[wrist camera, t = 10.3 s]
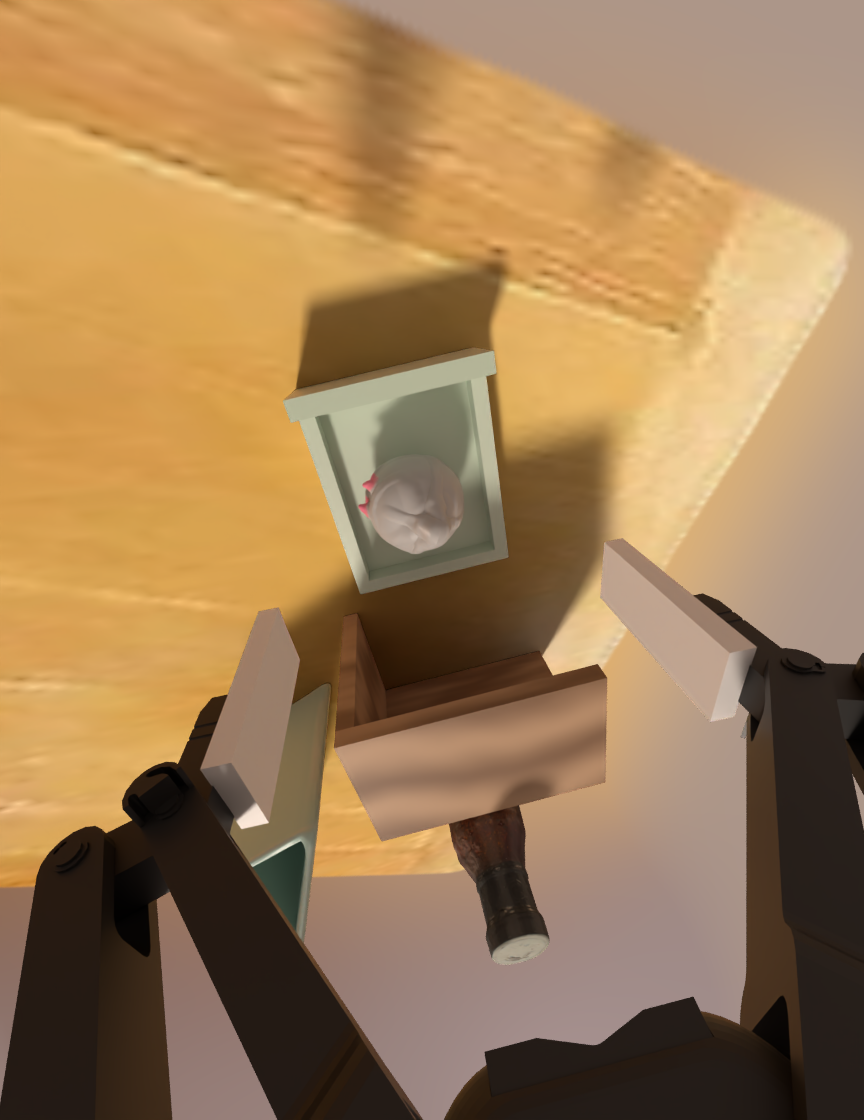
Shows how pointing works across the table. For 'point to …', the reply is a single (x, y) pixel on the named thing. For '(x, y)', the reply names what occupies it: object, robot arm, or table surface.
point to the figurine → (414, 502)
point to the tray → (402, 429)
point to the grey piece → (292, 812)
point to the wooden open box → (465, 737)
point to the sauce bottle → (502, 883)
